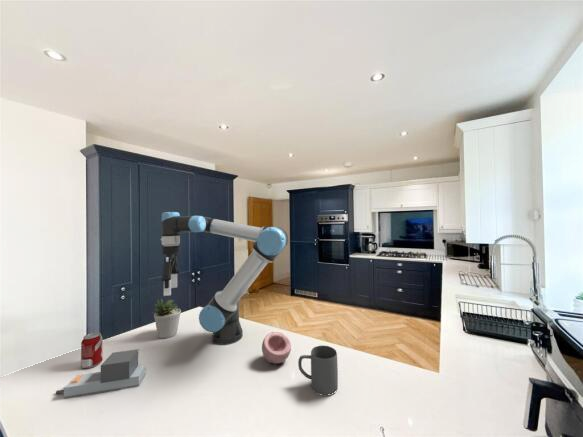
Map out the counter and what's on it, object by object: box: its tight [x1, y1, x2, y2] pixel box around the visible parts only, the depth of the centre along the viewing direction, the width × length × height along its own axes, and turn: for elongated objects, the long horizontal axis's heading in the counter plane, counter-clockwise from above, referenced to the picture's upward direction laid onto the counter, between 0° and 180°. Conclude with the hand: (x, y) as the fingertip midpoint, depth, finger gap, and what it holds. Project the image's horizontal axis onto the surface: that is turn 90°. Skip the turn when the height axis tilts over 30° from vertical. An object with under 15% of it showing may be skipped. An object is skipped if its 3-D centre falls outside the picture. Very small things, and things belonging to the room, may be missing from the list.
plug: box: [100, 348, 139, 383], centre depth 85 cm, size 9×8×8 cm
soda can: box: [80, 331, 104, 369], centre depth 98 cm, size 7×7×12 cm
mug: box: [297, 345, 339, 396], centre depth 82 cm, size 14×9×12 cm
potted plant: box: [149, 298, 182, 339], centre depth 124 cm, size 13×14×20 cm
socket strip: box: [55, 364, 147, 399], centre depth 84 cm, size 26×7×4 cm, turn 105°
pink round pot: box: [261, 331, 292, 365], centre depth 98 cm, size 12×12×11 cm
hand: (171, 291), depth 109 cm, fingers open, 13 cm apart
